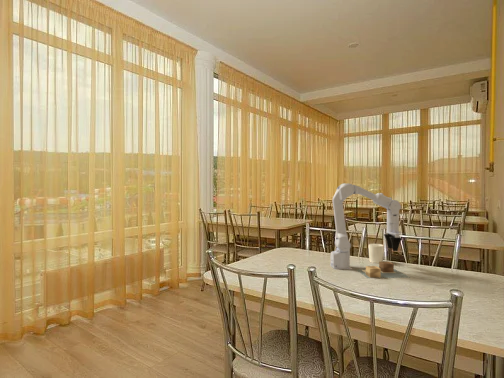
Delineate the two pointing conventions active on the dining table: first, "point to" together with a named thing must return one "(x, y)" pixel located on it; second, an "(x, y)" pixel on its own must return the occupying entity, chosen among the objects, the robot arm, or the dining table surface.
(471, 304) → the dining table surface
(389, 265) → the walnut block
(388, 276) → the build board
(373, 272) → the oak block
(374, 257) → the white cup
